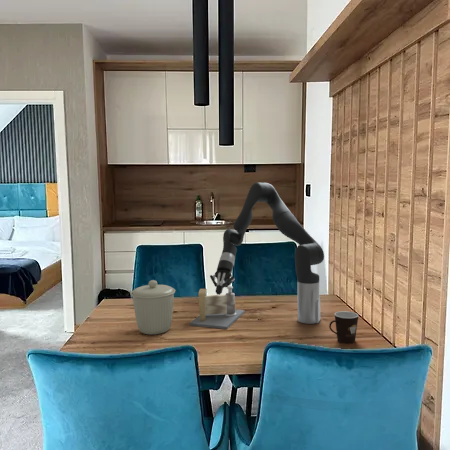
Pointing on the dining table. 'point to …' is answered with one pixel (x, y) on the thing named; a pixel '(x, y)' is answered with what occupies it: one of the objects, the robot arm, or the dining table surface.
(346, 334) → the coffee mug
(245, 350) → the dining table surface
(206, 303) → the white wavy panel
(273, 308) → the dining table surface
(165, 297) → the canister
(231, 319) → the board
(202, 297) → the post
